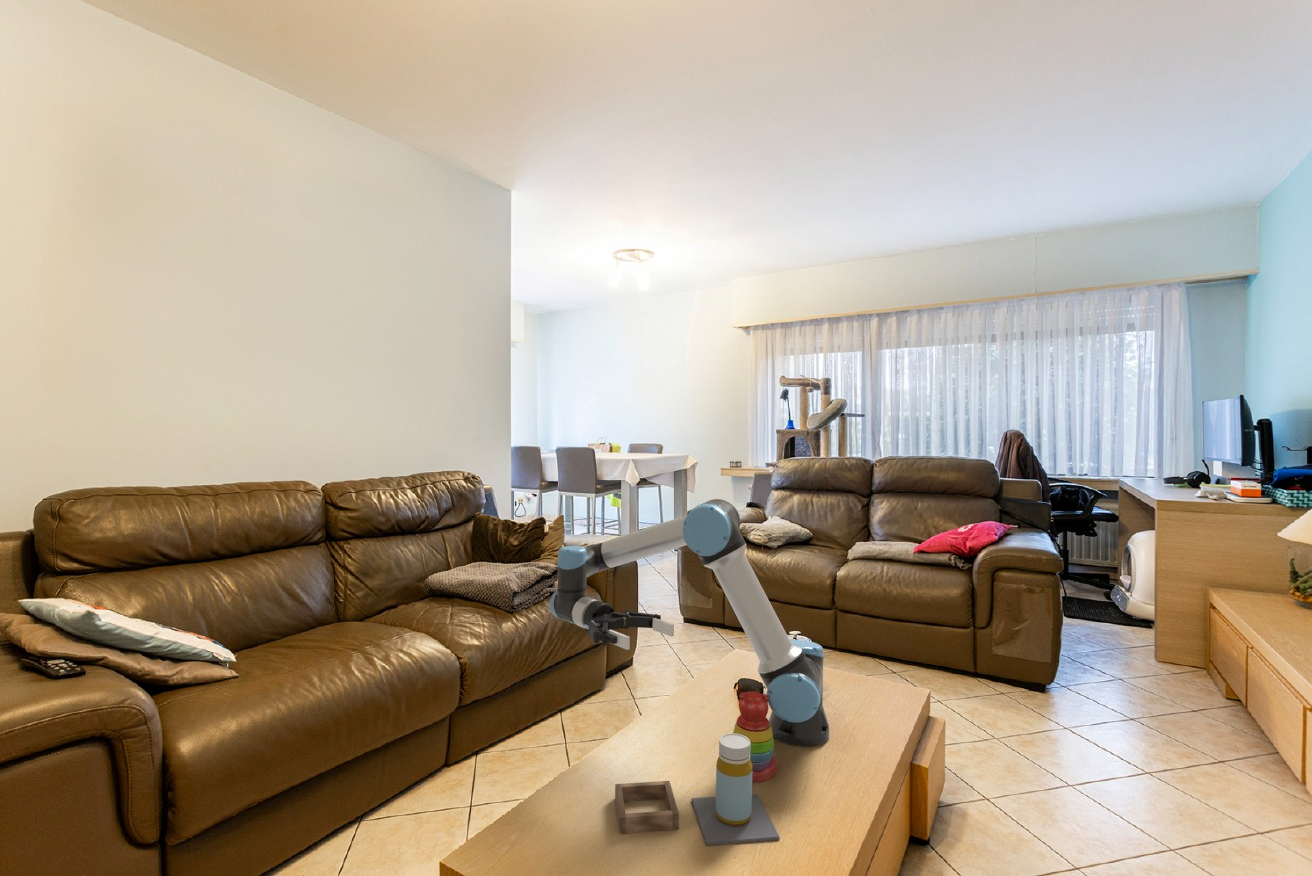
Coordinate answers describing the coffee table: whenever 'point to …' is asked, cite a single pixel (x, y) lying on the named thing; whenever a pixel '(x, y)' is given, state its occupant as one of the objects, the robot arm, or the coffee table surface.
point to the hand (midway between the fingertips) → (651, 636)
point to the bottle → (734, 780)
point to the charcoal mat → (723, 833)
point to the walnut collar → (646, 819)
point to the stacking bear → (757, 733)
